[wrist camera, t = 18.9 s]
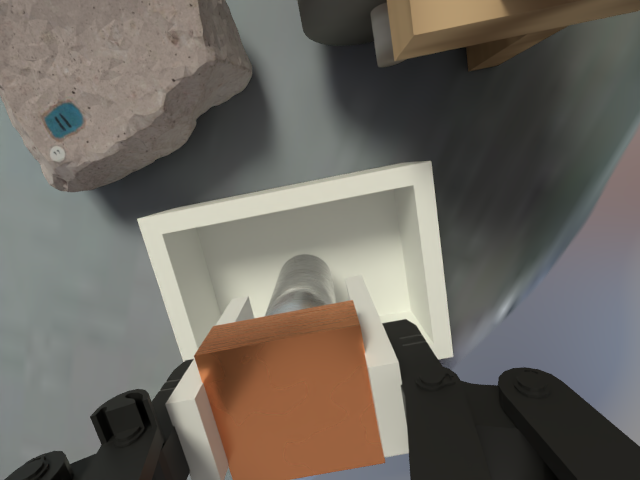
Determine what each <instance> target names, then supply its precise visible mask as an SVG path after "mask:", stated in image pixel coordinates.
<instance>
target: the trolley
mask: <svg viewBox="0 0 640 480" xmlns="http://www.w3.org/2000/svg"><path fill="white" fill-rule="evenodd" d="M298 6H299V11H300V17H301V22H302V27H303V31H304V33H305V35H306V36H307V37H308V38H309V39H311V40H313V41H315V42H318V43H321V44H325V45H336V46H344V45H356V44H363V43H369V42H373V41H374V43H375V50H376V57H377V64H378V67H388V66H392V65H396V64H398V63H401V62H403V61H404V60H406V59H409V58H414V57H418V56H423V55H428V54H433V53H438V52H443V51H447V50H452V49H457V48H462V47H466V49H467V61H468V71H473V70H478V69H483V68H488V67H493V66H498V65H500V64H501V63H503V62H505V61H507V60H508V59H510V58H512V57H514V56H516V55H517V54H519V53H521V52H523V51H524V50H526V49H528V48H530V47H532V46H533V45H535V44H537V43H539V42H540V41H542V40H544V39H546V38H548V37H549V36H551V35H553V34H555V33H556V32H558V31H560V30H562V29H564V28H565V27H567V26H569V25H573V24H578V23H583V22H587V21H592V20H597V19H602V18H607V17H612V16H616V15H621V14H626V13H631V12H636V11H639V10H640V0H298Z"/></svg>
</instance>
